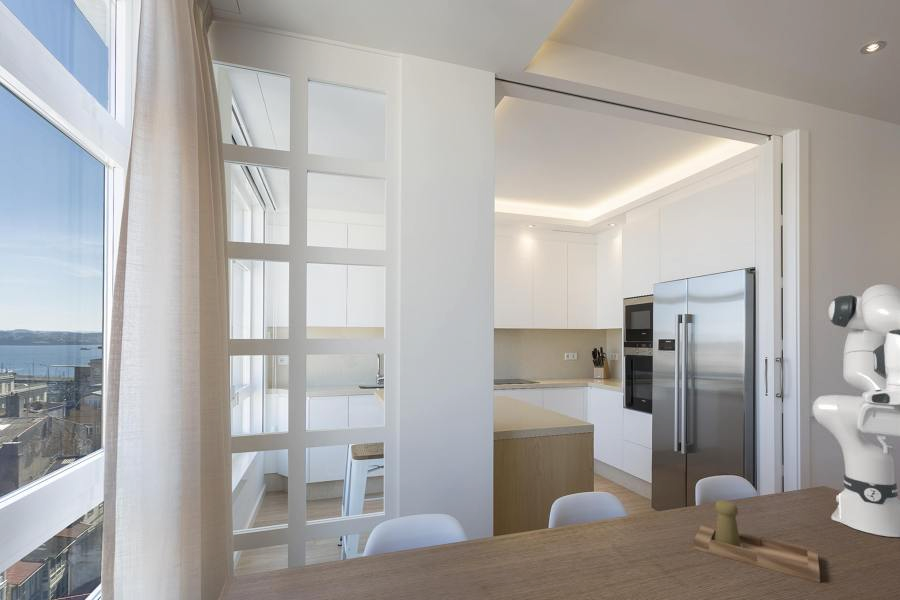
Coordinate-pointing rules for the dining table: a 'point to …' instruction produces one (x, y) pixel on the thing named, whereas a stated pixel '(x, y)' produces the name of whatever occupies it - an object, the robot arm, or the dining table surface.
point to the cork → (727, 523)
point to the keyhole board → (762, 553)
